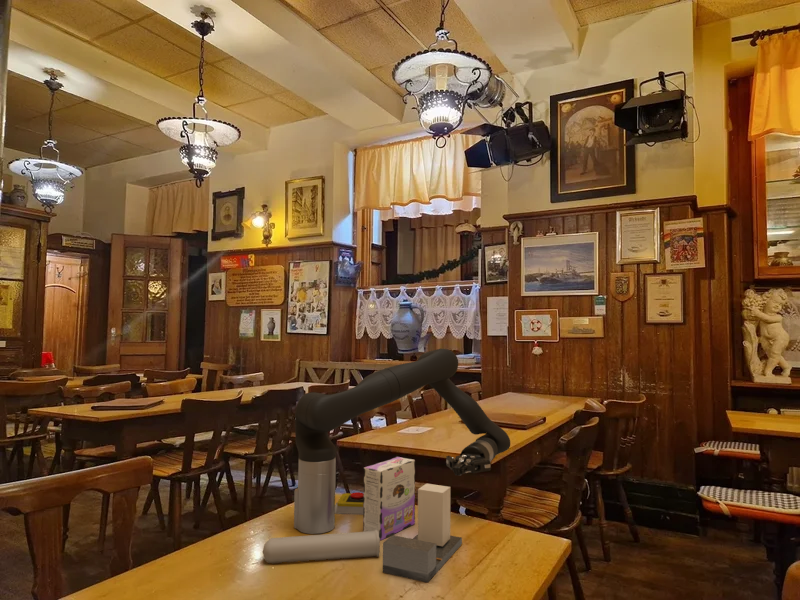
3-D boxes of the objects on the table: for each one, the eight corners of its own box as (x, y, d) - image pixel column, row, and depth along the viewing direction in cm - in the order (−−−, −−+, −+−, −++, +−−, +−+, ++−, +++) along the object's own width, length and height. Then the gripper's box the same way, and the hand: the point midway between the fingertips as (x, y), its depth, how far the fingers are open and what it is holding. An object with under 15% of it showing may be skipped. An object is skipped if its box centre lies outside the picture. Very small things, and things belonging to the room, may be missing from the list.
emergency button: (337, 488, 155) (389, 490, 154) (337, 504, 155) (389, 505, 154) (330, 498, 146) (386, 500, 145) (330, 515, 146) (386, 517, 145)
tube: (261, 550, 113) (380, 541, 117) (263, 532, 118) (377, 525, 123) (261, 571, 114) (379, 562, 119) (263, 553, 120) (376, 544, 124)
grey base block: (382, 572, 112) (382, 542, 112) (422, 536, 131) (422, 511, 131) (427, 582, 107) (428, 551, 108) (461, 544, 126) (462, 517, 127)
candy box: (397, 519, 142) (398, 455, 143) (415, 524, 138) (416, 459, 139) (361, 535, 131) (362, 466, 132) (380, 541, 128) (381, 470, 128)
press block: (417, 541, 123) (418, 489, 123) (426, 534, 127) (426, 483, 128) (442, 546, 120) (442, 492, 121) (450, 538, 125) (450, 486, 125)
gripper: (455, 440, 157) (433, 454, 142) (500, 444, 152) (482, 459, 136) (455, 466, 157) (433, 483, 141) (500, 471, 151) (482, 489, 136)
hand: (457, 471), depth 139 cm, fingers closed
